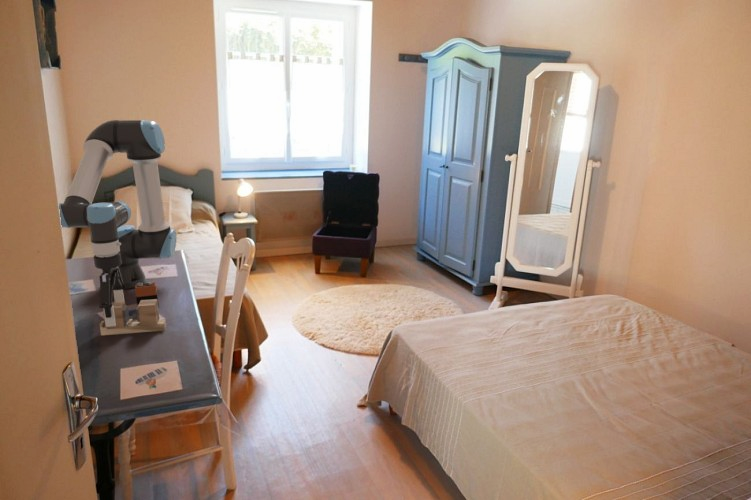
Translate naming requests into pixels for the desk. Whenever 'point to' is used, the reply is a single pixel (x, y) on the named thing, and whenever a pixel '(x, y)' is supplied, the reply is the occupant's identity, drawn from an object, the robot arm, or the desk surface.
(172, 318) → the desk surface
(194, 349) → the desk surface
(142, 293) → the battery
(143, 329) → the rail
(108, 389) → the desk surface
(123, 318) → the cardboard box
